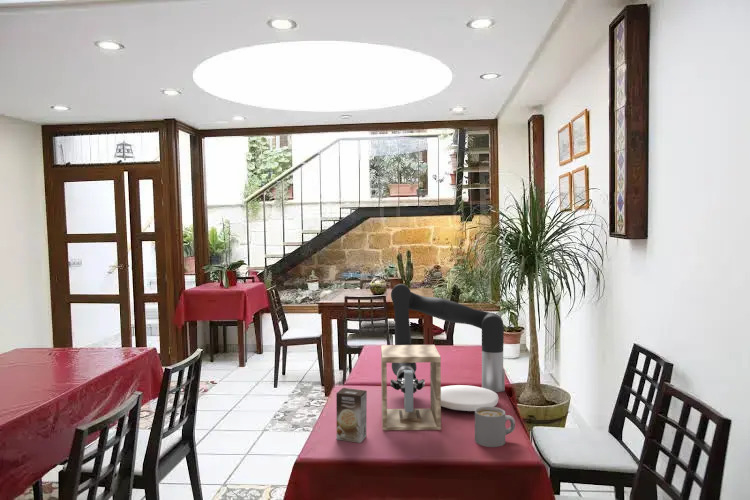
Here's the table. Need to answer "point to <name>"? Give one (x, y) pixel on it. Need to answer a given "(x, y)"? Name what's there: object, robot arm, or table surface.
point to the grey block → (408, 390)
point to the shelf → (430, 417)
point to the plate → (467, 397)
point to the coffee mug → (491, 426)
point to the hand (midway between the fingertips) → (409, 390)
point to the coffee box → (351, 414)
